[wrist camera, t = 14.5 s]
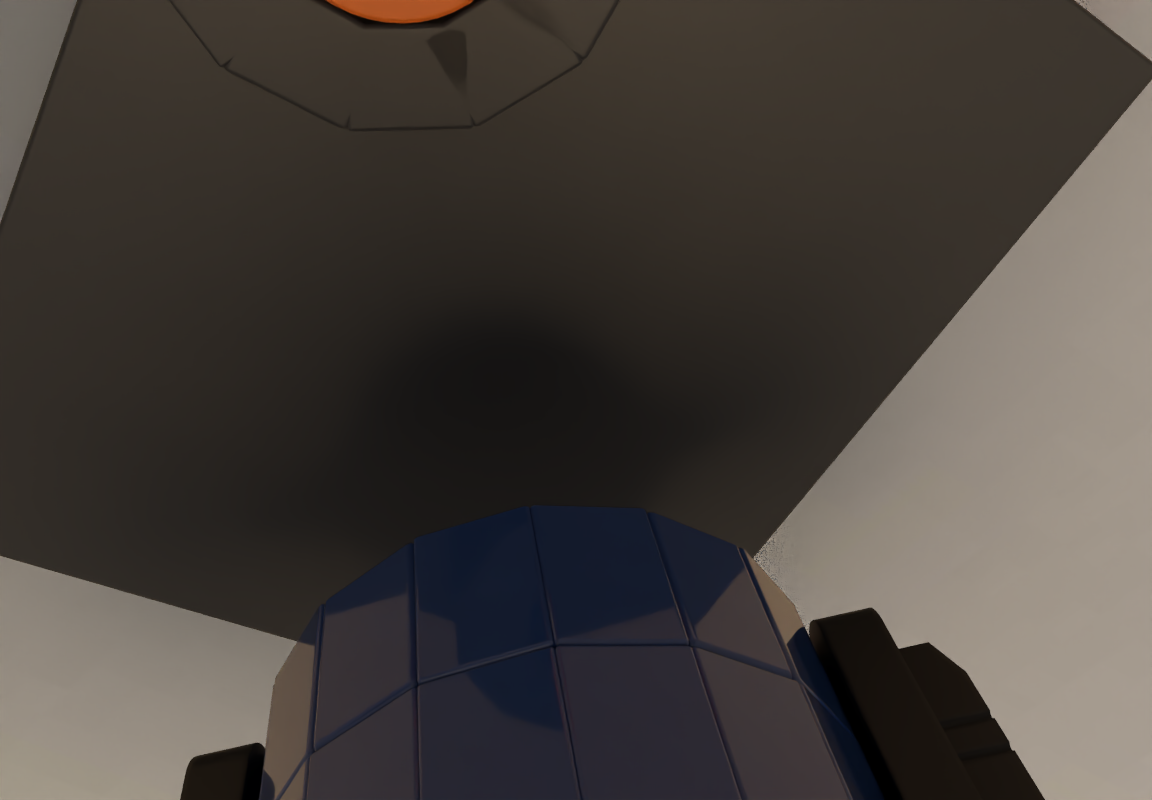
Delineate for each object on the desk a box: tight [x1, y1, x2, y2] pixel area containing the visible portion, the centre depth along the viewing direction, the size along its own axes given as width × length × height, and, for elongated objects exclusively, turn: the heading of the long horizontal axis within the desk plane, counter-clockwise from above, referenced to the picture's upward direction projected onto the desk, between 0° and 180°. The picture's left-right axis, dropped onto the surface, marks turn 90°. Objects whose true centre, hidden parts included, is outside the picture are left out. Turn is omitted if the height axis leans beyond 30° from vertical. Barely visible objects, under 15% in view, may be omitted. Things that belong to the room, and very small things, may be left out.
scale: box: [0, 0, 1152, 641], centre depth 15 cm, size 15×13×3 cm
